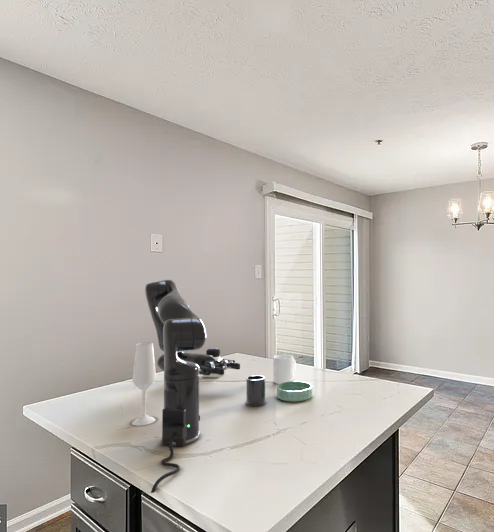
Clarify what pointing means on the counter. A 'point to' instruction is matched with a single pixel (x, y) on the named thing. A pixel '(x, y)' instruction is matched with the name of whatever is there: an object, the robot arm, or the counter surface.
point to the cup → (255, 390)
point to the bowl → (294, 391)
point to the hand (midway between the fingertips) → (231, 369)
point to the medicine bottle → (216, 355)
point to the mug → (283, 368)
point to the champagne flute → (144, 376)
